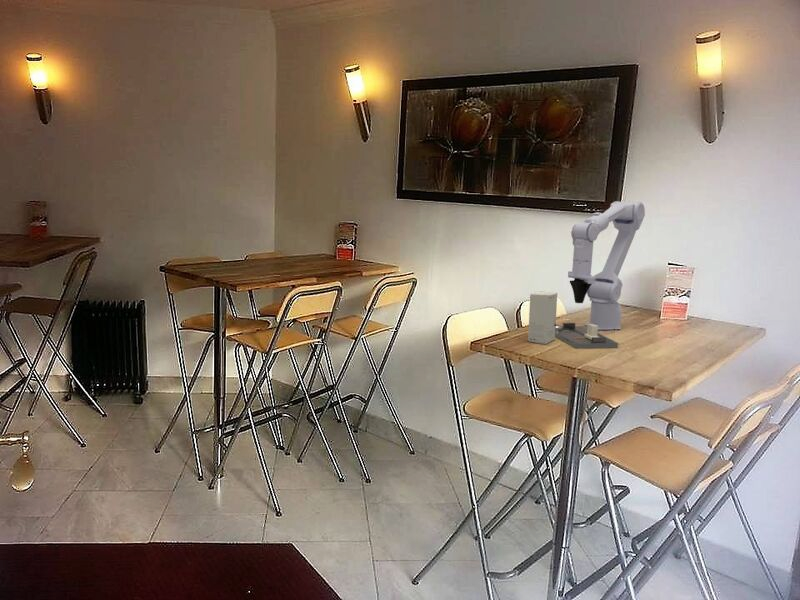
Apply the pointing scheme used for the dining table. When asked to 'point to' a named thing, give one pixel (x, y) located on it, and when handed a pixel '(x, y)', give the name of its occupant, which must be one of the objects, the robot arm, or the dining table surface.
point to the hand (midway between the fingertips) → (578, 302)
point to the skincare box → (542, 317)
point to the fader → (591, 331)
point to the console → (582, 337)
